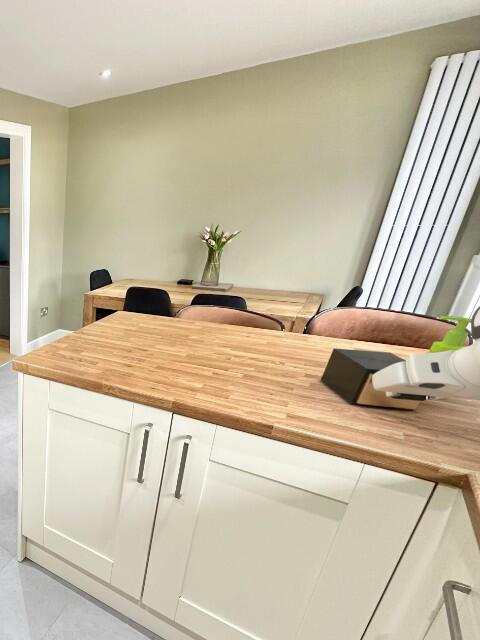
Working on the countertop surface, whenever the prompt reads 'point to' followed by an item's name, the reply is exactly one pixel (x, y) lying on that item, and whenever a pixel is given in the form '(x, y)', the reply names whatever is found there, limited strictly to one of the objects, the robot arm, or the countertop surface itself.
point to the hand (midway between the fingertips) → (407, 395)
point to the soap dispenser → (452, 336)
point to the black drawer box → (355, 371)
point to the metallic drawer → (380, 399)
